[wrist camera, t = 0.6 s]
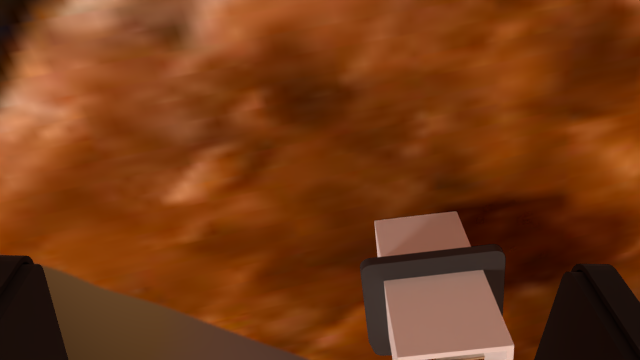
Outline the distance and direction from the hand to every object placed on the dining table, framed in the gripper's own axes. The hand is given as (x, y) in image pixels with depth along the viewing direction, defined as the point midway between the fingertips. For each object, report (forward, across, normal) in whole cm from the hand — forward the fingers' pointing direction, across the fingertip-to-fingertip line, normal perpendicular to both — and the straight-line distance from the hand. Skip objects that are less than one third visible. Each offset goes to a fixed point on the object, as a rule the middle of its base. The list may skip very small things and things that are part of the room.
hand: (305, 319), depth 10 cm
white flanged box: (+35, -11, +25) cm, 45 cm away
